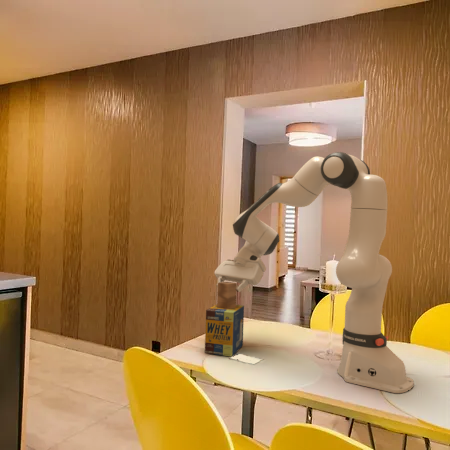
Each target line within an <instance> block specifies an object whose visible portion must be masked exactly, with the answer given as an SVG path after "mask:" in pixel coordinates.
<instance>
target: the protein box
mask: <svg viewBox="0 0 450 450" xmlns="http://www.w3.org/2000/svg"><path fill="white" fill-rule="evenodd" d="M244 309H245V305H241V304H236V308H231V309H224V308H219V307H217V304H214V305H213V306H211V307H209V308H208V309H206V310H205V333H204V337H205V338H204V354H208V355H215V356H216V355H219V356H225V357H232V356H234V355H236V354H237V352H238V351H239V350H240V349H241V348H242V347H243V346H244V343H243V342H244V320H245V318H244V316H245V315H244V313H245V310H244Z"/></svg>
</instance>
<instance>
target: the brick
mask: <svg viewBox="0 0 450 450" xmlns="http://www.w3.org/2000/svg"><path fill="white" fill-rule="evenodd" d="M217 283H218V282H217ZM237 285H238V282H232V281H224V282H220V283H218V288H217V295H216V297H217V298H216V299H217V300H216V301H217V302H216V305H217V307H219V308H224V309H231V308H236V305H237V293H238V292H237V291H236V290H235V288H236V287H237Z"/></svg>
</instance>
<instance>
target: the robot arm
mask: <svg viewBox="0 0 450 450" xmlns="http://www.w3.org/2000/svg"><path fill="white" fill-rule="evenodd" d="M330 185H331V186H334V187H338V188H341V189H343V190H344V189H345V190H347V191H349V193H350V197H351V199H350V200H351V204H350V212H349V213H350V217H349V229H348V235H347V240H346V244H345V247H344V250H343V252H342V256H341V258H340V260H338V262H337V265H336V267H335V276H336V277H337V279H338V282H339V283H341V285H343V286H345V287H347V288H349V289H351V292H350V293H349V294H350V295H349V297H348V299H347V301H346V302H345V311H344V313H345V314H344V327H343V329H342V339H341V340H342V351H341V358H340V362H339V365H338V368H337V374H338V375H339V376H340V377H342V378H343V380H344V381H345V382H347V383H350V384H355V385H359V386H362V387H363V386H364V387H368V388H372V389H374V390H375V389H376V390H380V391H384V392H389V393H393V394H402V393H406V392H409V391H411V388H412V387H413V388H414V386H415V383H414V380H413V379H412V378H411V377H408V376H407V371H406V370H407V369H406V365H405V363H404V360H402V359H401V358H400V357H399V356H398V355H397V354H395V352H393V350H392V349H390V348H389V347H388V346H387V344H388V340H389V335H386V336H385V335H384V334H383V333H382V317H383V316H382V315H383V307H384V306H383V305H384V301H385V296H386V293H387V288H388V283H389V280H390V278H391V275H392V273H393V266H392V263H391V261H390V260H389V259H388V258H387V257H386V256H385V255H382V254H380V251H381V250H380V249H381V248H382V247H381V246H382V243H383V241H384V239H385V238H386V234H387V221H388V191H387V183H386V181H385V179H384V178H383V177H381V176H379V175H376V174H371V170H370V167H369V166H368V164H367V163H366V162H365V161H364V160H361V159H359V158H358V157H357V156H356V155H355V156H354V155H352V154H349V153H347V152H346V153H345V152H343V151H342V152H341V151H335V152H332V153H330V154H328V155H327V156H326V157H323V156H318V155H317V156H313V157H312V158H310V159H309V160H308V161H306V162H305V163H304V164H303V166H301V167H300V168H299V170H298V171H297V172H296V173H295V174H294V176H293V177H292V178H291V179H289V180H288V181H286V182H278V183H276V184H273V186H272V187H270V188H269V189H268V190H267V191H266V192H265V193H263V194H261V196H260V197H259V198H258V199H256V201H255V202H254V203H252V204H251V205H250V206H249V207H248V208H247V209H245V211H243V212H241V213H240V214H239V215H237V216H236V218H235V219H234V222H232V223H233V224H232V229H233V232H234V235H236V236H238V237H240V238H242V239H243V240H244V241H245V242H244V245H243V246H241V248H240V249H239V250H238V252H237V254H235V256H234V258H233V259H227V260H224V261H222V262H221V263H220V264H219V265H218V266H217V267H216V269H215V270H214V276H215V278H217V280H218V281H217V283H216V287H217V289H218V283H220V282H232V283H237V287H236V288H235V290H236V291H237V293H241V292H242V290H244V289H245V288H247V287H248V286H249V285H252V286H256V285H258V284H259V283H260V282H261V280H262V278H263V276H264V273H266V271H267V267H266V265H265V263H264V262H263V260H262V259H261V258H262V257H263V256H268V255H271V254H272V253H273V252H274V251H275V249H276V247H277V246H278V244H279V242H280V235H279V233H278V232H277V230H275V229H274V228H272V227H271V226H270V225H268V224H267V223H265V222H264V221H262V220H261V219H260V218H259V217H258V215H259V214H260V213H261V212H262V211H264V210H265V209H266V207H268V206H269V205H270V204H275V203H277V204H284V205H287V206H290V207H294V208H304V207H308V206H310V205H312V203H313V202H314V201H315V200H316V199H317V198H318V197H319V196H320V194H321V193H322V192H323V190H325V189H326V187H327V186H330ZM238 283H240V284H238ZM413 385H414V386H413ZM413 388H412V389H413ZM408 390H409V391H408Z"/></svg>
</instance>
